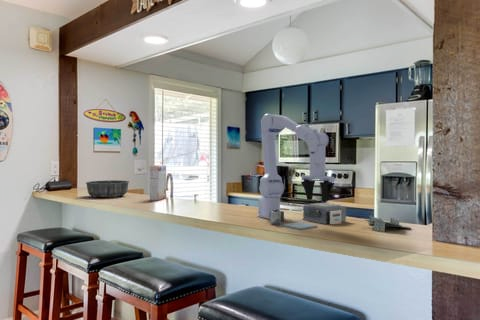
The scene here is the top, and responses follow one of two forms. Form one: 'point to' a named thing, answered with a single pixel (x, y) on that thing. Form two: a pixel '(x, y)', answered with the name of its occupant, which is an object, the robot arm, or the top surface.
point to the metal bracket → (384, 224)
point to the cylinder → (275, 217)
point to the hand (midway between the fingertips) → (317, 200)
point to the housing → (322, 212)
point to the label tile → (335, 217)
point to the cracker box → (157, 182)
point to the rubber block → (281, 215)
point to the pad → (299, 225)
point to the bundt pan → (107, 188)
